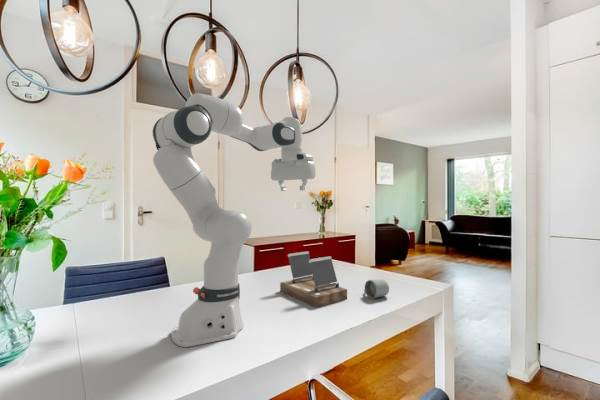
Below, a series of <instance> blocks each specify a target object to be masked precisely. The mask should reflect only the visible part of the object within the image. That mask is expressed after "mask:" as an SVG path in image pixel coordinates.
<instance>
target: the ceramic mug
mask: <svg viewBox="0 0 600 400" xmlns="http://www.w3.org/2000/svg"><path fill="white" fill-rule="evenodd" d="M363 291H364V294H366V296H367V297H368V298H369V299H372V300H373V299H376V298H383V297H386V296H387V295H388V294H389V292H390V287H389V284H388V282H387V281H386V280H384V279H382V278H381V279H380V278H379V279H369V280H367V281H365V283H364V289H363Z"/></svg>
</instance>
